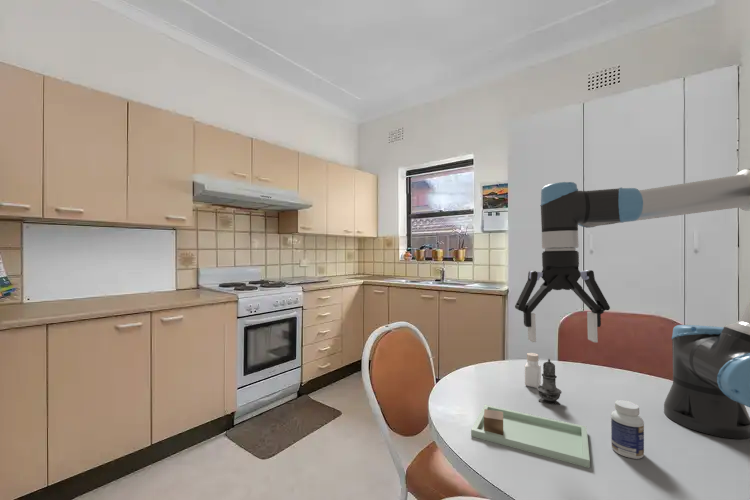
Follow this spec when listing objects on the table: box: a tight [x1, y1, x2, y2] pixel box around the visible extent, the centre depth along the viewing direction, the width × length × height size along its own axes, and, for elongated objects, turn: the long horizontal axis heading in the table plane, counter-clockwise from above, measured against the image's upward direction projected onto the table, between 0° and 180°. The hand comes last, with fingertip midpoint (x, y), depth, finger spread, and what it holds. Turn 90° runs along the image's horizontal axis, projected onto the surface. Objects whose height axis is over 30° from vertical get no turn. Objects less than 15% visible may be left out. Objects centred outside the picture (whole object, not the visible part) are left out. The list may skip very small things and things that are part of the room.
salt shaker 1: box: [524, 352, 542, 389], centre depth 103 cm, size 4×4×10 cm
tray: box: [470, 404, 591, 469], centre depth 74 cm, size 22×14×2 cm, turn 60°
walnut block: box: [484, 409, 503, 435], centre depth 75 cm, size 4×4×4 cm
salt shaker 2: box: [536, 358, 563, 406], centre depth 91 cm, size 6×6×12 cm
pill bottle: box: [610, 399, 645, 460], centre depth 69 cm, size 5×5×10 cm
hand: (562, 340), depth 78 cm, fingers open, 13 cm apart
